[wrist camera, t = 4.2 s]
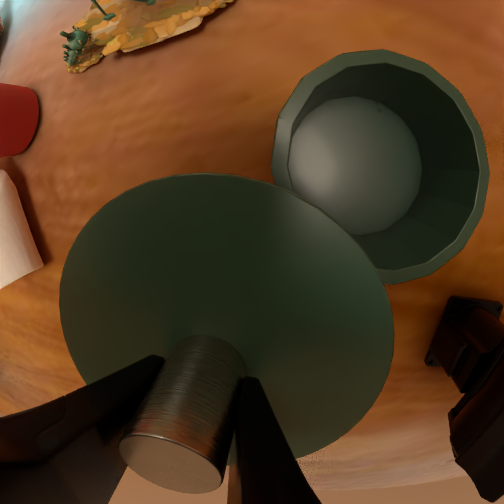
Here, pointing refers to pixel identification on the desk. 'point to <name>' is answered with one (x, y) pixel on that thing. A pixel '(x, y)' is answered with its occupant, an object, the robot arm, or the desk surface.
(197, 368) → the bin lid
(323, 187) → the bin
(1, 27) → the ice cream cone
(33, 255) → the white bottle
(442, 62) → the desk surface
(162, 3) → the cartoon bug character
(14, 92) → the beer can
